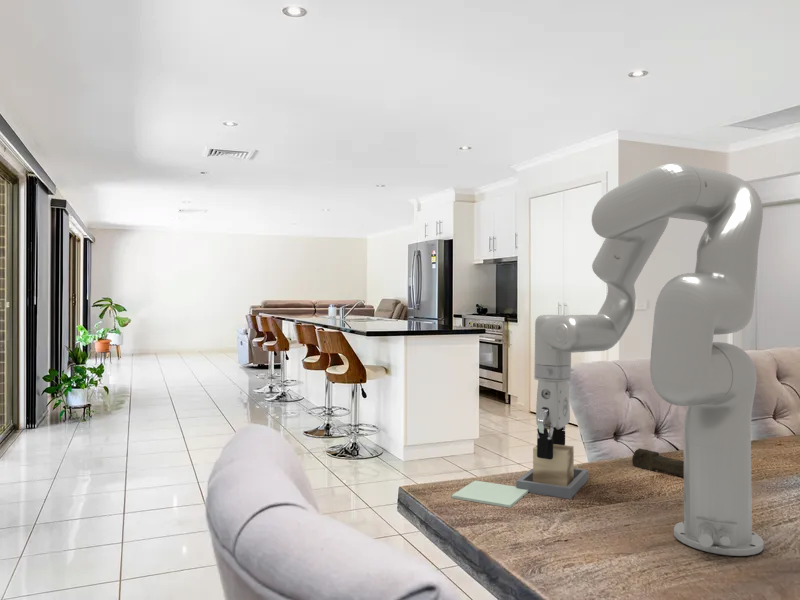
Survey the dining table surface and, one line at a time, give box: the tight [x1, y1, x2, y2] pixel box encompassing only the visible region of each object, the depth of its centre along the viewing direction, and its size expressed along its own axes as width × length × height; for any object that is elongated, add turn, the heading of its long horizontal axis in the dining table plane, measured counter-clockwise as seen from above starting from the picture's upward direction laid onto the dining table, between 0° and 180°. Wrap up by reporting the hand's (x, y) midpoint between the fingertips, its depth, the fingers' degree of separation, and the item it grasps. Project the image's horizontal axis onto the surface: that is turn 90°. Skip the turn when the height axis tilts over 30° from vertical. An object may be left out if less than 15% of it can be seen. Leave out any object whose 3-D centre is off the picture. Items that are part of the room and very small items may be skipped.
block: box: [532, 444, 575, 487], centre depth 125 cm, size 6×7×8 cm
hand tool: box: [631, 447, 684, 477], centre depth 134 cm, size 19×4×5 cm, turn 35°
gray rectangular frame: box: [515, 467, 589, 500], centre depth 125 cm, size 16×11×2 cm
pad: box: [451, 480, 528, 509], centre depth 118 cm, size 12×12×1 cm
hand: (551, 453), depth 126 cm, fingers open, 9 cm apart
